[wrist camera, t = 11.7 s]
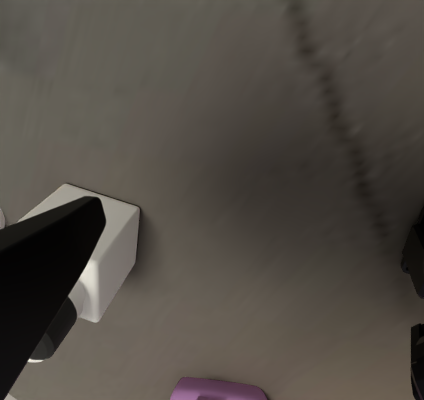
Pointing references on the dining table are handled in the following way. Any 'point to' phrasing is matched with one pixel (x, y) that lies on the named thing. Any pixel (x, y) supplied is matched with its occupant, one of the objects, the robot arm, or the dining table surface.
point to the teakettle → (215, 390)
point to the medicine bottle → (92, 265)
